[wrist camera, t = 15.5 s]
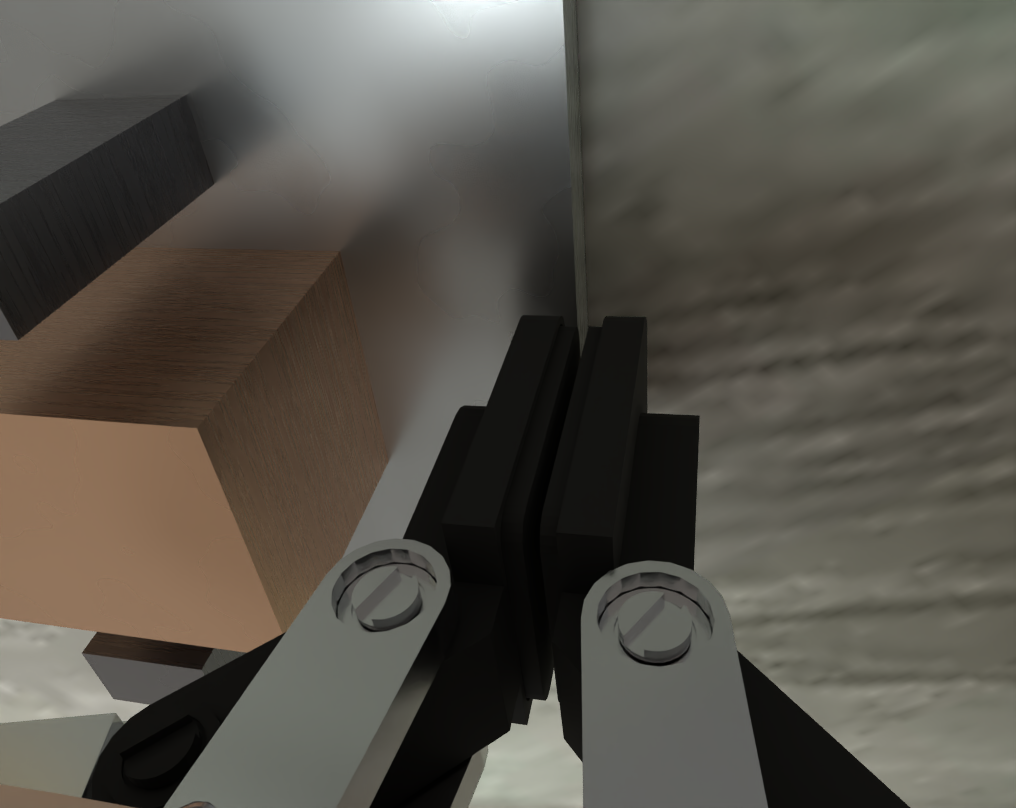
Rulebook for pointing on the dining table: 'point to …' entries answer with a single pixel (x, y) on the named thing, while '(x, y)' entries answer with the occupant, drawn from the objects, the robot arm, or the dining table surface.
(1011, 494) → the dining table surface
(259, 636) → the wooden beam
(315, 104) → the plate
